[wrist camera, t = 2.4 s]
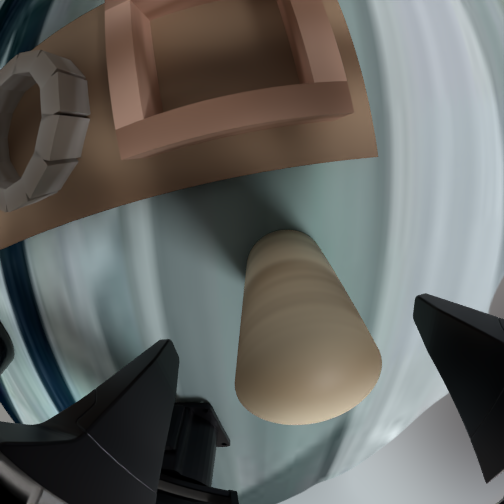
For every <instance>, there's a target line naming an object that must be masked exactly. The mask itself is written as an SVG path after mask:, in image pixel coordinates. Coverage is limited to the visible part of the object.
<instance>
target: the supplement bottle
mask: <svg viewBox="0 0 504 504" xmlns="http://www.w3.org/2000/svg"><path fill="white" fill-rule="evenodd" d="M13 359H14V348H13V345H12V342H11V340H10V338H9V336H8V334H7V333H6V331H5V329H4V328H3V326H2V325H1V323H0V375H1V374H2V373H3V372H4V370H5V369H6V368H7V367H8V366H9V364H10V363H11V362H12V361H13Z"/></svg>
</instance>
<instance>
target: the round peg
mask: <svg viewBox="0 0 504 504" xmlns="http://www.w3.org/2000/svg"><path fill="white" fill-rule="evenodd" d="M381 368H382V360H381V355H380V352H379V349H378V347H377V346H376V344H375V342H374V340H373V338H372V336H371V335H370V333H369V331H368V329H367V327H366V325H365V324H364V322H363V320H362V318H361V316H360V315H359V313H358V311H357V309H356V308H355V306H354V304H353V302H352V301H351V299H350V297H349V296H348V294H347V292H346V290H345V289H344V287H343V285H342V284H341V282H340V280H339V279H338V277H337V275H336V274H335V272H334V270H333V269H332V267H331V265H330V264H329V262H328V261H327V259H326V257H325V256H324V254H323V253H322V251H321V249H320V248H319V246H318V245H317V243H316V242H315V241H314V240H313V239H312V238H310V237H309V236H308V235H306V234H304V233H302V232H299V231H296V230H278V231H274V232H272V233H269V234H267V235H265V236H264V237H262V238H261V239H260V240H259V241H258V242H257V243H256V244H255V245H254V246H253V248H252V249H251V251H250V253H249V256H248V259H247V267H246V276H245V286H244V296H243V306H242V316H241V326H240V336H239V346H238V356H237V366H236V376H235V390H236V394H237V397H238V399H239V401H240V402H241V403H242V405H243V406H244V407H245V408H246V409H247V410H248V411H250V412H251V413H252V414H254V415H256V416H258V417H259V418H262V419H264V420H267V421H270V422H274V423H279V424H286V425H305V424H312V423H317V422H322V421H325V420H329V419H331V418H334V417H337V416H339V415H341V414H343V413H345V412H347V411H348V410H350V409H352V408H353V407H355V406H356V405H357V404H359V403H360V402H361V401H362V400H363V399H364V398H365V397H366V396H367V395H368V394H369V393H370V392H371V391H372V389H373V388H374V386H375V385H376V383H377V381H378V379H379V376H380V373H381Z"/></svg>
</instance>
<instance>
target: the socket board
mask: <svg viewBox="0 0 504 504" xmlns="http://www.w3.org/2000/svg"><path fill="white" fill-rule="evenodd" d="M370 157H378V152H377V145H376V139H375V133H374V127H373V122H372V116H371V111H370V106H369V102H368V97H367V93H366V89H365V84H364V80H363V76H362V73H361V69H360V65H359V62H358V58H357V55H356V51H355V48H354V45H353V42H352V39H351V36H350V33H349V30H348V27H347V24H346V21H345V19H344V16H343V13H342V11H341V8H340V6H339V3H338V1H337V0H105V3H104V4H102V5H100V6H98V7H96V8H94V9H93V10H91V11H89V12H87V13H85V14H84V15H82V16H80V17H79V18H77V19H75V20H74V21H72V22H71V23H69V24H67V25H66V26H64V27H63V28H61V29H60V30H58V31H57V32H55V33H54V34H53V35H51V36H50V37H48V38H47V39H46V40H44V41H43V42H42V43H40V44H39V45H38V46H36V47H35V48H34V49H33V50H31V51H28V52H22V53H19V55H16V56H15V57H14V58H13V59H12V60H10V61H9V62H8V63H7V64H6V65H5V66H4V67H3V68H2V69H1V70H0V249H3V248H5V247H8V246H10V245H12V244H15V243H17V242H19V241H22V240H24V239H27V238H29V237H32V236H34V235H37V234H39V233H42V232H45V231H47V230H50V229H52V228H55V227H58V226H61V225H63V224H66V223H69V222H72V221H75V220H78V219H81V218H84V217H87V216H90V215H93V214H96V213H99V212H102V211H105V210H108V209H112V208H115V207H118V206H121V205H125V204H128V203H132V202H135V201H139V200H142V199H146V198H149V197H153V196H157V195H161V194H165V193H168V192H172V191H176V190H180V189H184V188H189V187H193V186H197V185H202V184H206V183H210V182H215V181H220V180H224V179H229V178H234V177H239V176H244V175H249V174H255V173H260V172H266V171H272V170H277V169H284V168H290V167H296V166H303V165H310V164H317V163H325V162H333V161H341V160H350V159H360V158H370Z"/></svg>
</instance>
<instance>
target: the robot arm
mask: <svg viewBox="0 0 504 504" xmlns="http://www.w3.org/2000/svg"><path fill="white" fill-rule="evenodd" d="M413 319H414V322H415V324H416V326H417V328H418V331H419V333H420V335H421V337H422V340H423V342H424V344H425V347H426V349H427V351H428V353H429V355H430V357H431V359H432V360H433V362H434V364H435V366H436V368H437V370H438V371H439V373H440V375H441V377H442V379H443V381H444V383H445V385H446V387H447V389H448V391H449V393H450V395H451V397H452V399H453V401H454V403H455V405H456V408H457V409H458V412H459V414H460V416H461V418H462V421H463V423H464V425H465V428H466V430H467V432H468V435H469V437H470V438H471V443H472V445H473V448H474V450H475V453H476V456H477V458H478V461H479V464H480V467H481V470H482V473H483V476H484V479H485V482H486V483H489V482H490V481H491V480H493V479H494V478H496V477H497V476H498V475H500V474H501V473H502V472H504V319H501V318H498V317H495V316H493V315H490V314H487V313H484V312H481V311H478V310H475V309H472V308H469V307H466V306H463V305H460V304H457V303H454V302H450V301H447V300H444V299H441V298H438V297H435V296H432V295H429V294H421V295H418V296H416V298H415V303H414V312H413ZM178 369H179V356H178V354H177V351H176V349H175V347H174V345H173V342H172V341H171V340H170V339H163V340H159V341H158V342H156V343H155V344H154V345H152V346H151V347H150V348H149V349H147V350H146V351H145V352H143V353H142V354H141V355H139V356H138V357H137V358H135V359H134V360H133V361H131V362H130V363H129V364H128V365H126V366H125V367H124V368H122V369H121V370H120V371H118V372H117V373H116V374H114V375H113V376H112V377H110V378H109V379H108V380H106V381H105V382H104V383H102V384H101V385H100V386H98V387H97V388H96V389H94V390H93V391H92V392H90V393H89V394H88V395H86V396H85V397H83V398H82V399H81V400H79V401H78V402H76V403H75V404H73V405H71V406H70V407H68V408H67V409H65V410H64V411H62V412H60V413H59V414H57V415H55V416H54V417H52V418H50V419H49V420H47V421H45V422H43V423H40V424H36V425H26V424H16V423H8V422H1V421H0V504H239V502H238V495H237V491H233V490H228V491H227V490H222V489H218V488H213V487H211V485H212V477H213V469H214V461H215V453H216V447H227V446H230V439H229V438H228V436H227V434H226V432H225V430H224V428H223V427H222V425H221V423H220V421H219V419H218V417H217V415H216V413H215V411H214V409H213V407H212V406H211V405H210V404H208V403H174V402H175V397H176V389H177V379H178ZM496 504H504V498H503V499H501V500H500V501H499V502H498V503H496Z"/></svg>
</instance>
